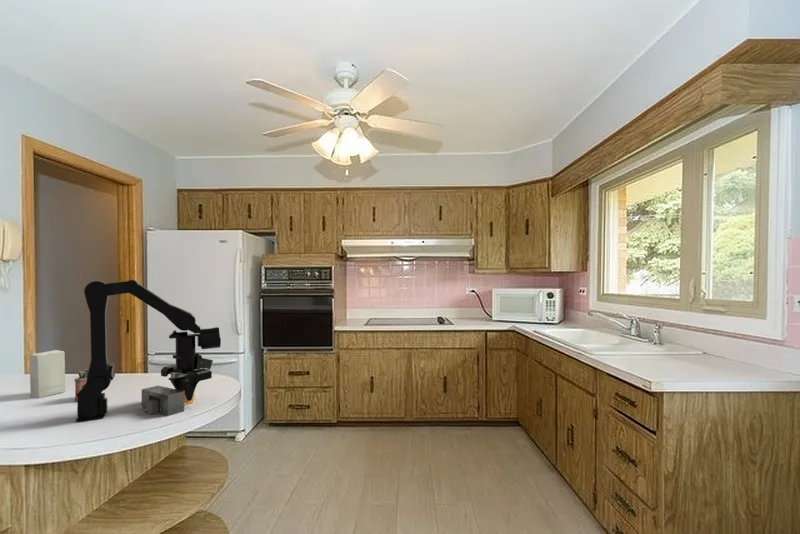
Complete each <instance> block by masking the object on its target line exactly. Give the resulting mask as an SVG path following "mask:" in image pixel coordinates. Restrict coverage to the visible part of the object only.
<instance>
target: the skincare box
mask: <svg viewBox="0 0 800 534" xmlns="http://www.w3.org/2000/svg"><path fill="white" fill-rule="evenodd" d="M65 355H66V354H65V351H63V350H57V349H53V350H49V351H43V352H36V353H31V354H29V382H30V383H29V384H30V385H29V386H30V387H29V388H30V396H31V397H33V398H37V399H42V398H46V397H49V396H53V395H56V394H57V395H58V394H62V393H65V392H66V369H65V368H66V361H65V360H66V359H65Z"/></svg>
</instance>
